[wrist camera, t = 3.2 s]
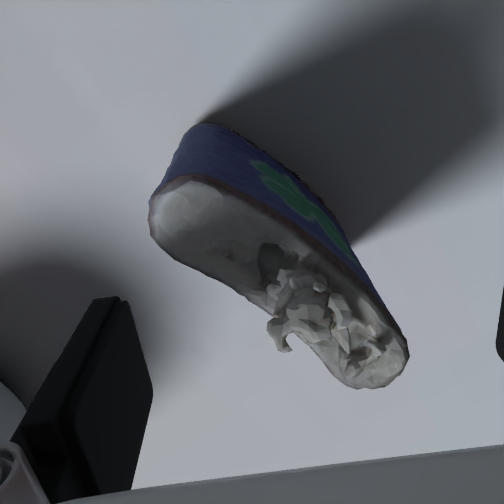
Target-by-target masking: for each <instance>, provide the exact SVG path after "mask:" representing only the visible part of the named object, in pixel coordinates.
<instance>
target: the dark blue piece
mask: <svg viewBox="0 0 504 504" xmlns="http://www.w3.org/2000/svg"><path fill="white" fill-rule="evenodd" d="M148 223H149V227H150V236H151V237H152V238H153V239H154V241H155V242H156V243H157V244H158V245H159V247H160V248H161V249H163V250H164V251H165V252H166V253H167V254H169V255H170V256H171V257H172V258H173V259H174V260H176V261H178V262H180V263H182V264H184V265H186V266H189V267H191V268H193V269H195V270H198V271H200V272H201V273H203V274H205V275H206V276H208V277H211V278H213V279H216V280H218V281H220V282H222V283H224V284H225V285H227V286H229V287H231V288H232V289H233V290H235V291H236V292H237V293H238V294H239V295H242V296H245V297H246V299H247V300H248V301H250V302H252V303H253V304H255V305H257V306H258V307H260V308H261V309H263V310H264V311H266V312H267V313H268V314H270V315H271V316H272V317H274V318H273V319H271V320H270V321H268V324H267V332H268V333H269V335H270V337H271V338H272V339H273V340H274V341H275V343H276V346H277V348H278V351H280V352H290V351H292V349H291V348H290V347H289V345H288V343H287V342H286V340H285V338H286V337H287V335H288V334H289V333H292V332H294V333H295V334H296V335H297V336H298V337H299V338H300V339H301V340H302V341H303V342H304V343H306V344H307V345H308V346H310V348H311V349H312V350H313V351H314V352H315V353H316V355H317V356H318V357H319V358H320V359H321V360H322V362H323V363H324V364H325V366H326V367H327V368H328V370H329V371H330V373H331V374H332V375H333V376H334V377H336V378H337V379H338V380H339V381H340V382H342V383H343V384H344V385H346V386H348V387H351V388H354V389H361V388H365V387H366V388H369V389H376V388H380V387H386V386H388V385H389V384H390V383H391V382H392V381H393V380H394V379H395V378H396V377H397V376H400V375H401V373H402V371H403V370H404V368H405V366H406V364H407V361H408V359H409V357H410V355H409V351H408V346H407V339H406V338H405V337H404V335H403V334H402V332H401V329H400V327H399V326H398V324H397V323H396V321H395V320H394V318H393V317H392V315H391V314H390V312H389V311H388V309H387V308H386V306H385V304H384V302H383V301H382V299H381V297H380V296H379V294H378V293H377V291H376V289H375V288H374V286H373V284H372V282H371V280H370V278H369V277H368V275H367V273H366V271H365V270H364V269H363V267H362V266H361V264H360V262H359V260H358V258H357V257H356V255H355V254H354V252H353V250H352V249H351V246H350V244H349V242H348V240H347V238H346V236H345V233H344V231H343V229H342V228H341V227H340V225H339V223H338V221H337V219H336V217H335V215H333V214H332V212H331V211H330V210H329V209H328V208H327V206H326V205H325V203H324V202H323V200H322V199H321V198H320V197H317V195H316V194H315V192H314V190H313V189H310V186H308V184H307V183H304V182H303V181H302V180H301V179H300V177H299V176H298V175H296V174H295V173H294V172H291V171H290V170H288V169H287V168H285V167H284V166H283V165H282V164H281V163H279V162H278V161H276V160H275V159H273V158H272V157H271V156H269V154H266V152H265V151H264V150H260V149H259V148H258V147H257V146H256V145H254V143H252V142H251V141H250V140H248V139H246V138H243V137H242V136H240V134H238V133H236V132H235V131H231V130H230V129H229V128H225V127H223V126H222V125H219V124H213V123H200V124H197V125H194V126H193V127H192V128H190V129H189V130H188V131H187V132H186V133H185V134H184V135H183V137H182V140H181V142H180V144H179V148H178V149H177V150H176V152H175V153H174V155H173V159H172V162H171V165H170V166H169V167H168V168H167V171H166V174H165V176H164V178H163V180H162V182H161V184H160V185H159V186H158V187H157V188H156V190H155V191H154V193H153V194H152V196H151V198H150V200H149V215H148Z"/></svg>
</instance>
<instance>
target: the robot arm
mask: <svg viewBox="0 0 504 504" xmlns="http://www.w3.org/2000/svg"><path fill="white" fill-rule="evenodd" d="M496 350H497V353H498V355H499V357H500V358H501V359H502V360H503V361H504V288H503V295H502V302H501V309H500V316H499V323H498V330H497V337H496ZM152 399H153V388H152V383H151V379H150V376H149V372H148V369H147V365H146V362H145V358H144V355H143V351H142V348H141V344H140V341H139V337H138V334H137V330H136V327H135V323H134V320H133V316H132V313H131V309H130V306H129V303H128V302H127V301H121V299H120V298H119V297H118V296H113V297H105V298H97V299H94V300H93V301H92V302H91V304H90V306H89V307H88V309H87V311H86V312H85V314H84V316H83V318H82V319H81V321H80V323H79V324H78V326H77V328H76V330H75V331H74V333H73V335H72V336H71V338H70V340H69V342H68V343H67V345H66V347H65V348H64V350H63V352H62V354H61V355H60V357H59V358H58V360H57V361H56V362H55V364H54V366H53V367H52V369H51V371H50V373H49V374H48V376H47V378H46V379H45V381H44V383H43V384H42V386H41V388H40V390H39V391H38V393H37V395H36V396H35V398H34V400H33V402H32V403H31V405H30V407H29V408H28V410H27V412H26V413H25V415H24V417H23V419H22V420H21V422H20V424H19V425H18V427H17V429H16V431H15V432H14V434H13V436H12V437H11V439H10V441H0V504H504V444H503V445H494V446H485V447H476V448H468V449H459V450H451V451H442V452H433V453H425V454H416V455H408V456H399V457H391V458H382V459H374V460H365V461H357V462H348V463H340V464H331V465H323V466H315V467H307V468H299V469H291V470H283V471H275V472H267V473H258V474H250V475H242V476H234V477H226V478H218V479H210V480H202V481H194V482H186V483H178V484H171V485H163V486H155V487H147V488H141V489H134V490H131V487H132V483H133V479H134V475H135V470H136V466H137V462H138V458H139V454H140V450H141V445H142V441H143V437H144V433H145V429H146V425H147V420H148V416H149V412H150V408H151V404H152Z"/></svg>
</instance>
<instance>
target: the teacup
mask: <svg viewBox="0 0 504 504" xmlns="http://www.w3.org/2000/svg"><path fill="white" fill-rule="evenodd" d="M26 412H27V411H26V409H25V408H24V406H23V405H22V403H21V402H20V400H19V399H18V398H17V397H16V396H15V395H14V394H13V393H12V392H11V391H10V390H9V389H8V388H7V387H6V386H5V385H4V384H2V383H1V382H0V441H10V439H11V437H12V436H13V434H14V432H15V431H16V429H17V427H18V425H19V424H20V422H21V420H22V419H23V417H24V415H25V413H26Z"/></svg>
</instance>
